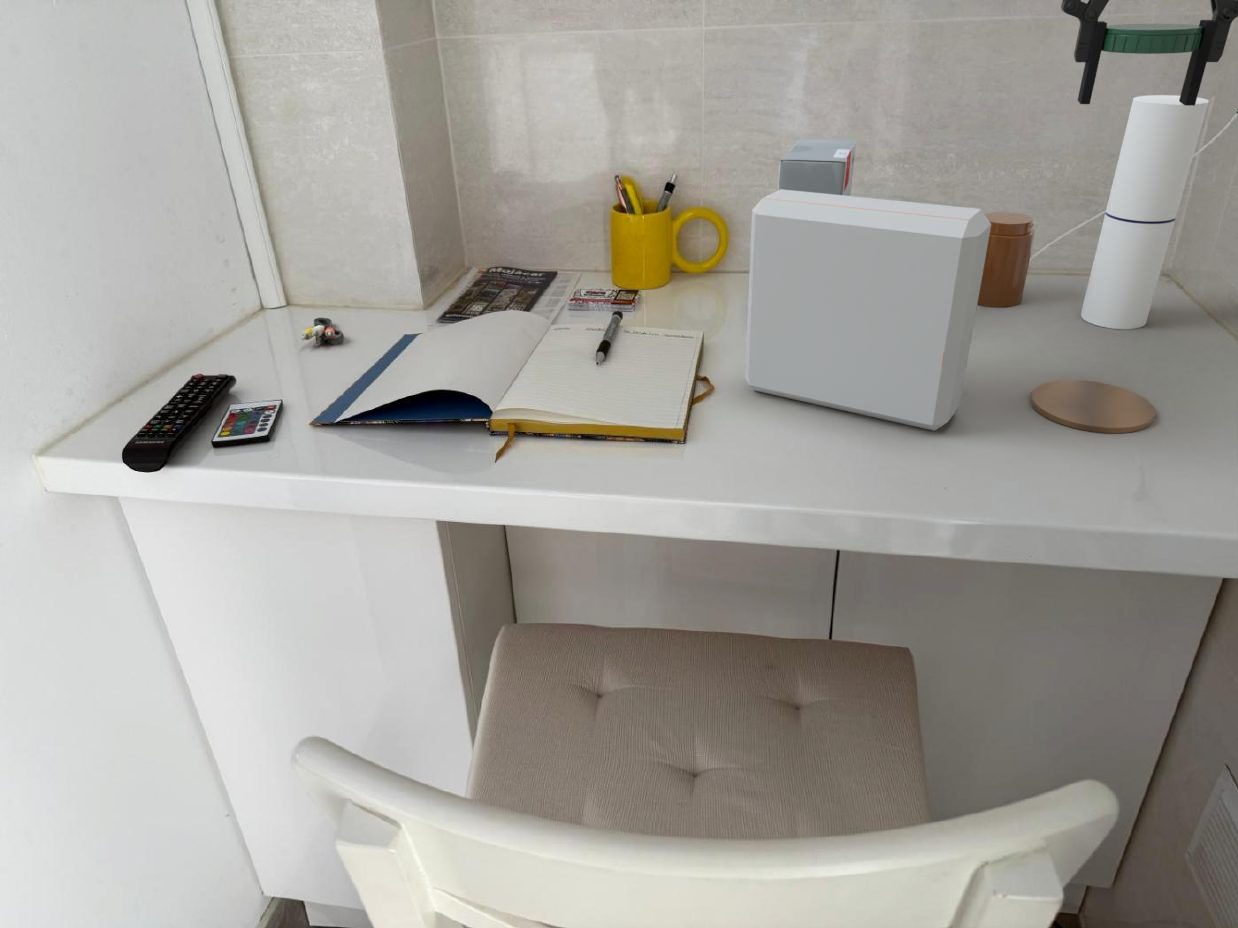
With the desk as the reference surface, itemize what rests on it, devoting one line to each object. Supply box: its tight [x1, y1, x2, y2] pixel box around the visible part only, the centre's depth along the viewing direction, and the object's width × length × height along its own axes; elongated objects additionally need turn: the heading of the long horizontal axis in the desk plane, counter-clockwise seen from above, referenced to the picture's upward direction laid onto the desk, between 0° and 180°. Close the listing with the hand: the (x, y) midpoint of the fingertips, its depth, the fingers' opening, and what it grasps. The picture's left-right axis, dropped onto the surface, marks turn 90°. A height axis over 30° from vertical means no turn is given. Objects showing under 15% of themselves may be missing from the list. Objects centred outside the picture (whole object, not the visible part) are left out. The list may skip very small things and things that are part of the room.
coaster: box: [1030, 379, 1157, 434], centre depth 86 cm, size 11×11×1 cm
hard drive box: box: [777, 138, 857, 196], centre depth 110 cm, size 16×8×20 cm, turn 162°
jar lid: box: [1101, 23, 1203, 55], centre depth 76 cm, size 8×8×2 cm
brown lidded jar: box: [977, 211, 1036, 308], centre depth 113 cm, size 7×7×10 cm
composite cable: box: [300, 317, 345, 347], centre depth 111 cm, size 10×5×2 cm, turn 9°
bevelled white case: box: [744, 189, 991, 432], centre depth 85 cm, size 21×8×20 cm, turn 57°
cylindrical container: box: [1080, 94, 1210, 330], centre depth 101 cm, size 7×7×25 cm
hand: (1134, 102), depth 78 cm, fingers closed on jar lid, 7 cm apart
